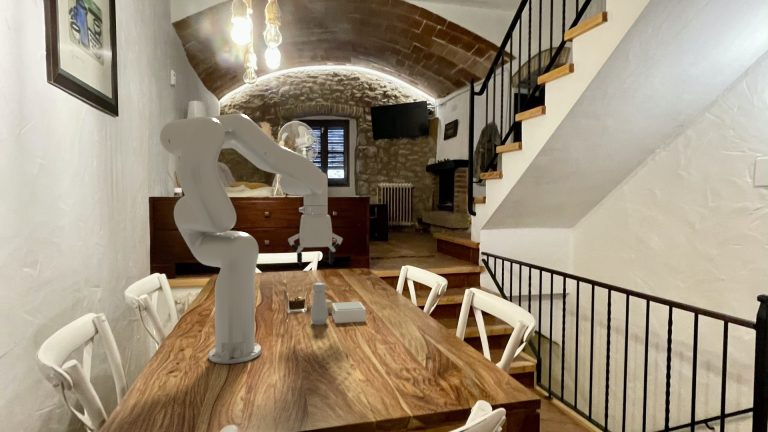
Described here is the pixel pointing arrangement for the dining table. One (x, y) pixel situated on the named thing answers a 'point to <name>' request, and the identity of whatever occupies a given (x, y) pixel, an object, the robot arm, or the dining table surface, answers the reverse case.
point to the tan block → (329, 305)
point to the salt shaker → (319, 305)
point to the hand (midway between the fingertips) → (315, 264)
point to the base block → (348, 312)
